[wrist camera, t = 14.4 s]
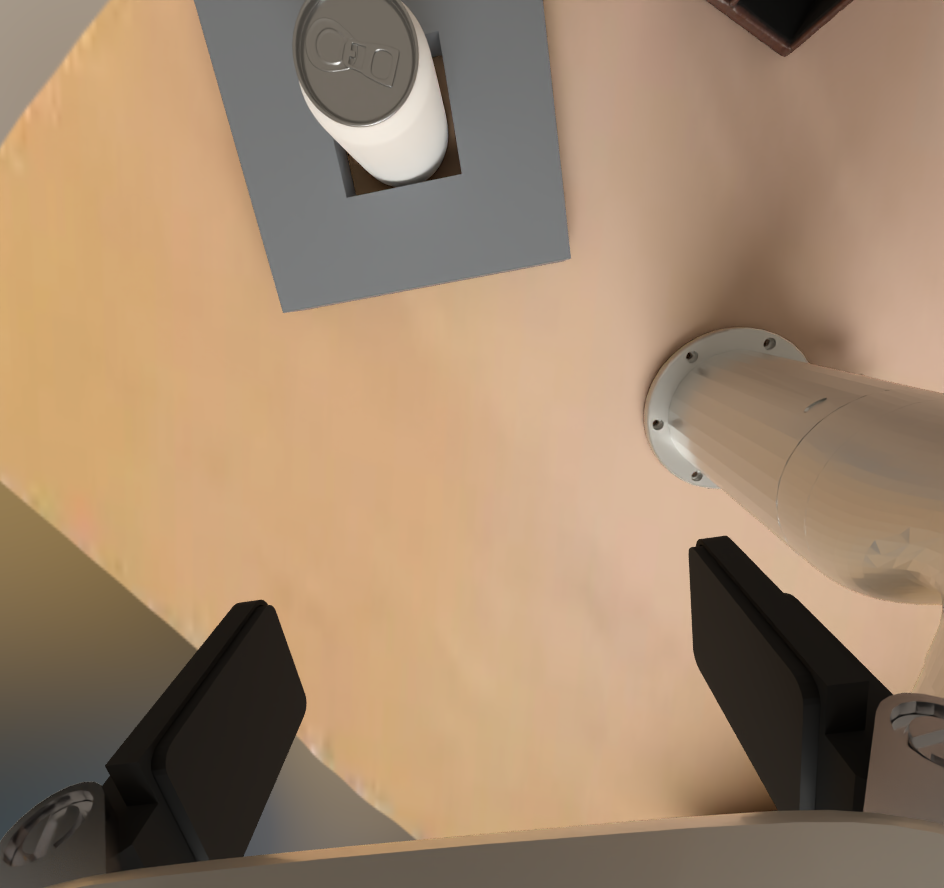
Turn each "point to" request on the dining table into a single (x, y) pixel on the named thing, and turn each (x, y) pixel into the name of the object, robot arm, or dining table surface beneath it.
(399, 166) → the can
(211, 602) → the dining table surface
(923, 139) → the dining table surface
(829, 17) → the letter holder
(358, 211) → the socket block
